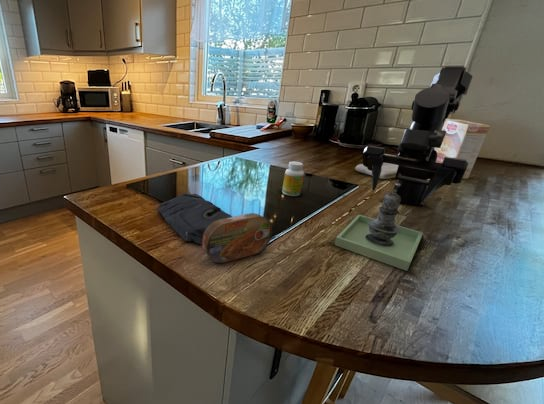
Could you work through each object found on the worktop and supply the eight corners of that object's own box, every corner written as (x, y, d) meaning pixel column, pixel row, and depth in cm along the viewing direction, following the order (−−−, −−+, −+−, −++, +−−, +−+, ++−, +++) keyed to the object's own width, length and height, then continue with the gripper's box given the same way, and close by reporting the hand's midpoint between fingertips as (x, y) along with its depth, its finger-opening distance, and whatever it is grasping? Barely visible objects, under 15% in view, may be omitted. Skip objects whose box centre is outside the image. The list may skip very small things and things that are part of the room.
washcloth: (414, 175, 112) (417, 167, 111) (383, 181, 105) (385, 172, 104) (384, 167, 122) (386, 159, 121) (353, 171, 115) (355, 163, 114)
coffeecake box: (423, 166, 124) (440, 118, 116) (442, 167, 123) (460, 119, 115) (447, 177, 110) (468, 124, 102) (469, 179, 109) (491, 124, 101)
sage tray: (356, 221, 75) (358, 214, 74) (420, 240, 67) (423, 232, 66) (334, 245, 64) (336, 237, 64) (407, 271, 56) (410, 262, 55)
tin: (206, 267, 56) (208, 227, 53) (198, 258, 59) (200, 220, 55) (270, 251, 62) (276, 214, 58) (261, 243, 64) (266, 208, 61)
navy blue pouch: (202, 199, 87) (203, 184, 85) (249, 233, 69) (251, 214, 67) (153, 208, 80) (152, 192, 78) (191, 248, 62) (191, 228, 60)
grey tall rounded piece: (376, 231, 69) (391, 183, 64) (401, 244, 64) (419, 192, 59) (358, 236, 67) (372, 186, 62) (382, 249, 62) (400, 196, 57)
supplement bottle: (291, 197, 89) (296, 166, 85) (278, 191, 93) (282, 161, 90) (303, 194, 91) (309, 164, 88) (290, 189, 96) (295, 160, 92)
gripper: (375, 110, 68) (349, 166, 65) (486, 119, 56) (460, 188, 54) (375, 140, 77) (351, 190, 74) (471, 153, 65) (448, 213, 62)
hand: (396, 194), depth 65 cm, fingers open, 9 cm apart
